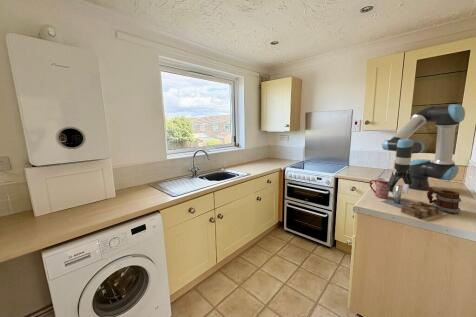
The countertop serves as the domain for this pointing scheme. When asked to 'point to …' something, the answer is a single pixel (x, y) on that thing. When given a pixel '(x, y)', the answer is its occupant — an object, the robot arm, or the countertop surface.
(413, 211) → the hole block
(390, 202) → the mat
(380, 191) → the mug
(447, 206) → the mug
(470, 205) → the countertop surface
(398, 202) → the peg
